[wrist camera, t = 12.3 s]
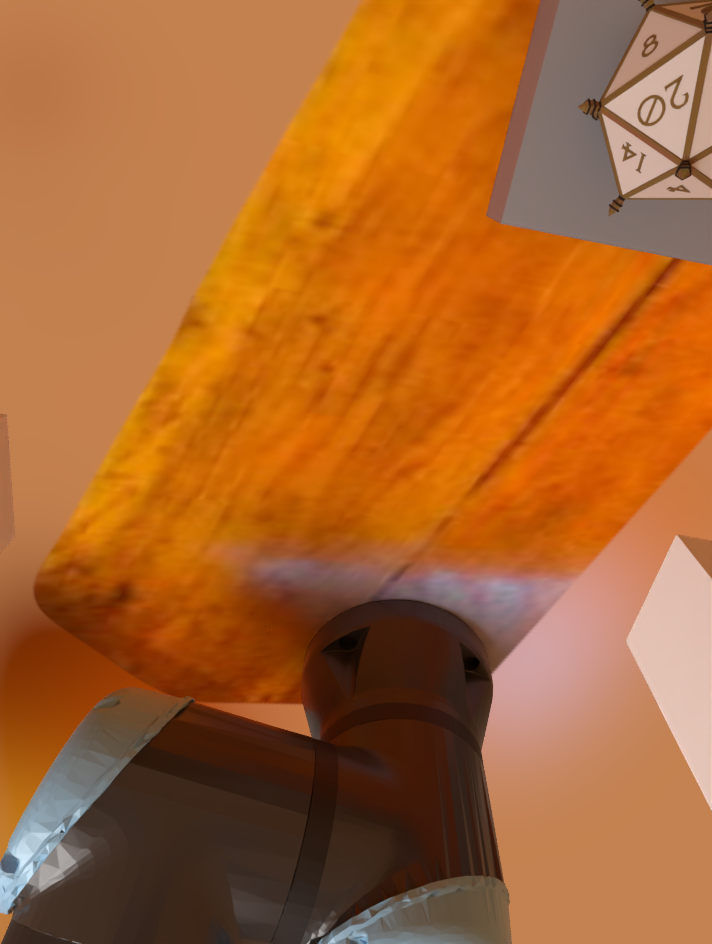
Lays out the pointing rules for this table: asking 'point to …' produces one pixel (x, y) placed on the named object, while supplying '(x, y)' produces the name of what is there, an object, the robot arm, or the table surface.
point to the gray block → (583, 141)
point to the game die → (661, 107)
